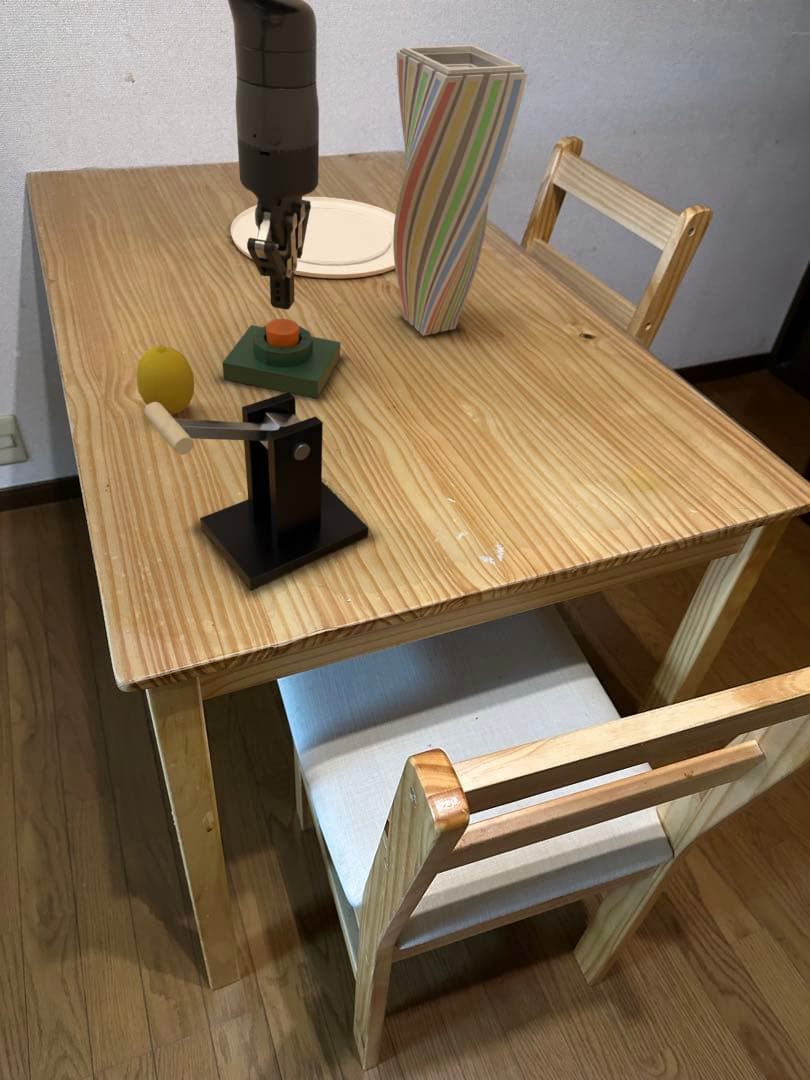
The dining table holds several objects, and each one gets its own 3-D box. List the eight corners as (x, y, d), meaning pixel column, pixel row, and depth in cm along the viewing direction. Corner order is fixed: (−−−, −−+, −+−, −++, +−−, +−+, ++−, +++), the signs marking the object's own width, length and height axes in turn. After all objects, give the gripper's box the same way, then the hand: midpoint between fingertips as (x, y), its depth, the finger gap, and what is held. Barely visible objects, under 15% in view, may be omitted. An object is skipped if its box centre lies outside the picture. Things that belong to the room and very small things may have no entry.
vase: (444, 291, 106) (477, 39, 85) (501, 337, 98) (553, 71, 77) (358, 309, 100) (372, 42, 80) (412, 359, 92) (443, 78, 72)
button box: (223, 379, 86) (220, 347, 83) (252, 341, 92) (250, 310, 89) (317, 398, 85) (318, 366, 82) (340, 358, 91) (341, 327, 88)
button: (262, 345, 85) (261, 331, 84) (273, 330, 87) (272, 316, 86) (293, 351, 84) (293, 337, 83) (303, 336, 87) (303, 322, 86)
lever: (170, 461, 53) (179, 430, 52) (140, 424, 55) (147, 394, 54) (307, 462, 62) (317, 436, 60) (275, 430, 64) (284, 405, 63)
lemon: (191, 431, 78) (183, 363, 73) (136, 427, 78) (124, 358, 72) (202, 401, 82) (195, 334, 77) (150, 397, 82) (139, 329, 76)
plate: (262, 288, 102) (262, 283, 101) (210, 207, 119) (209, 203, 119) (449, 267, 111) (449, 263, 111) (375, 196, 129) (375, 191, 129)
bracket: (250, 590, 64) (242, 470, 55) (200, 527, 68) (184, 408, 60) (368, 537, 69) (377, 420, 61) (314, 482, 74) (315, 367, 65)
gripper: (264, 107, 76) (270, 274, 88) (212, 147, 67) (226, 327, 79) (336, 119, 75) (332, 285, 87) (294, 161, 66) (296, 341, 78)
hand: (282, 305), depth 83 cm, fingers closed
